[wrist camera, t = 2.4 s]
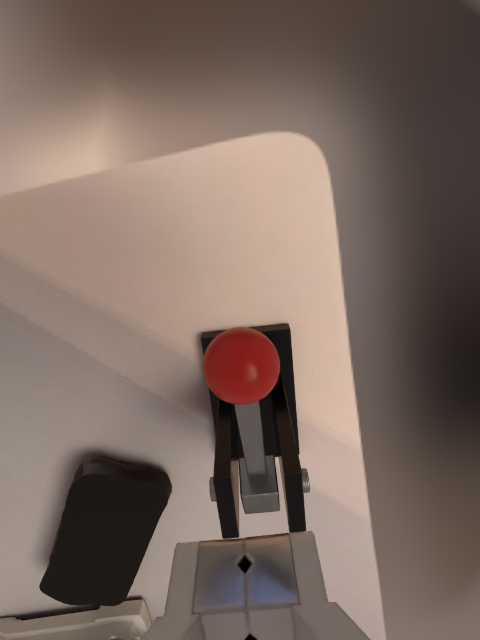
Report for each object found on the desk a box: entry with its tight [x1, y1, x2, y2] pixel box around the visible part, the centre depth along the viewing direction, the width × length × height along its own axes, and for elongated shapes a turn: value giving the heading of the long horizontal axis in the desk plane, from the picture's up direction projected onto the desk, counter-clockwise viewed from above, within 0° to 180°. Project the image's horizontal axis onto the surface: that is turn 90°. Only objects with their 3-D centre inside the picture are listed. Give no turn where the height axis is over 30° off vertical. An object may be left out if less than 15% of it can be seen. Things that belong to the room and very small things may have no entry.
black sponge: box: [39, 457, 172, 606], centre depth 40 cm, size 16×8×4 cm, turn 159°
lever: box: [203, 327, 280, 514], centre depth 22 cm, size 15×3×3 cm, turn 7°
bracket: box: [201, 324, 310, 539], centre depth 31 cm, size 12×7×13 cm, turn 6°
